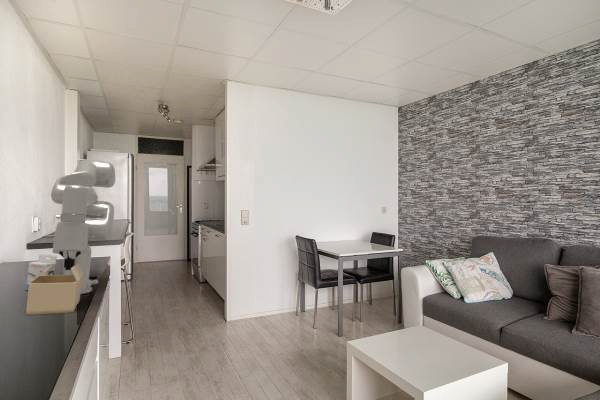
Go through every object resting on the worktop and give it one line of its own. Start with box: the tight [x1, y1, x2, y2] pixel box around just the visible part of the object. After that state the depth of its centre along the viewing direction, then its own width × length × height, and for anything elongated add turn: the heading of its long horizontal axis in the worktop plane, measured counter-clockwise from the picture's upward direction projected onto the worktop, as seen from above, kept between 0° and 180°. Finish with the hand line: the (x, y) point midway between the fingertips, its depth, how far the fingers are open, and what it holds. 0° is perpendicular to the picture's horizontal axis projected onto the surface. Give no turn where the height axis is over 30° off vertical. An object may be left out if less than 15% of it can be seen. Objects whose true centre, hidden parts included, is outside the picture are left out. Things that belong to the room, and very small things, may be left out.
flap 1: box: [29, 265, 52, 283], centre depth 119 cm, size 5×14×1 cm
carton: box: [25, 274, 82, 316], centre depth 120 cm, size 16×13×10 cm
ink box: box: [25, 253, 57, 290], centre depth 141 cm, size 9×5×15 cm, turn 84°
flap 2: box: [71, 263, 83, 282], centre depth 123 cm, size 5×14×1 cm
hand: (68, 269), depth 122 cm, fingers closed
